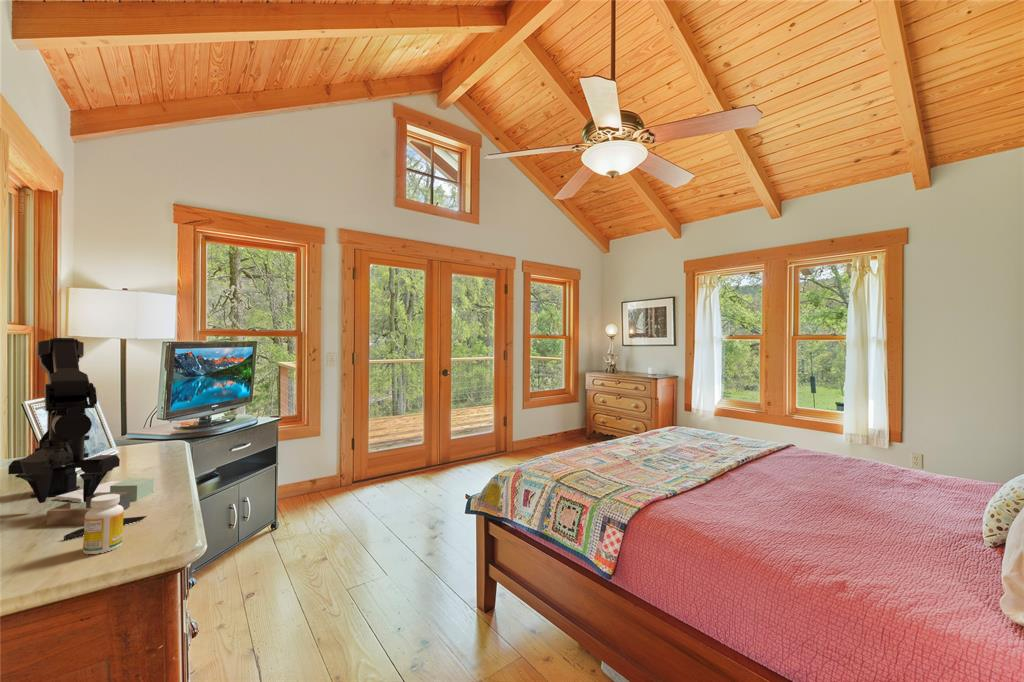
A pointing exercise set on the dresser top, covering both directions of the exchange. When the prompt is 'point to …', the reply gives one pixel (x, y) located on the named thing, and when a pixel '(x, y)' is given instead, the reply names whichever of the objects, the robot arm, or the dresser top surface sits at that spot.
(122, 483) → the sage block
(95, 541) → the supplement bottle
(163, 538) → the dresser top surface
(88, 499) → the dark gray rectangular block
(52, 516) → the frame
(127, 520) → the folding knife
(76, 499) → the external hard drive
